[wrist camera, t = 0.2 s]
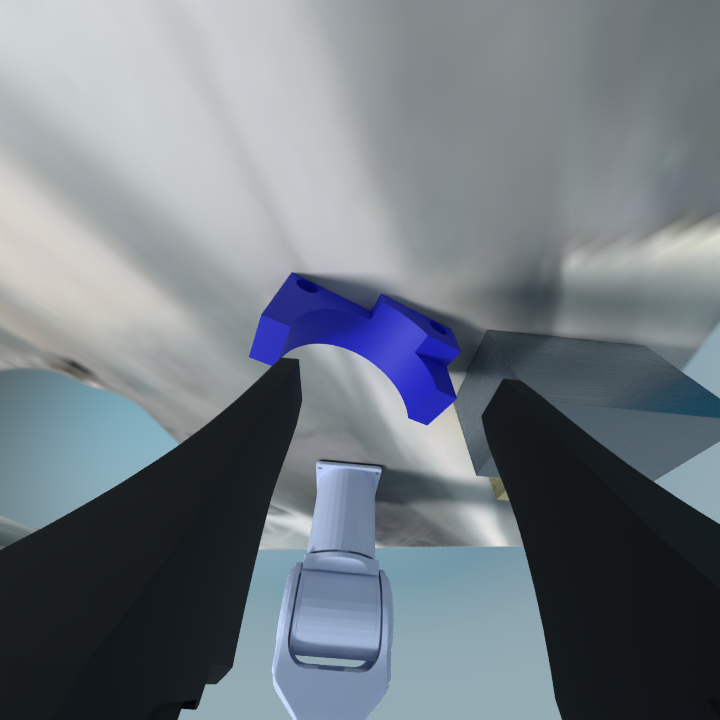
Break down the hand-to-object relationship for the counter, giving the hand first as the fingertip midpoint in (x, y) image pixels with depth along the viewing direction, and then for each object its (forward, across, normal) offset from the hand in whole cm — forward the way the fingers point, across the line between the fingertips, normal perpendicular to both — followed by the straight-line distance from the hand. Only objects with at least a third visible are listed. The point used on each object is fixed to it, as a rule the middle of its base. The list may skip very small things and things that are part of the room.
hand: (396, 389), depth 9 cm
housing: (+10, -14, +7) cm, 18 cm away
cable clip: (+10, +1, +3) cm, 11 cm away
